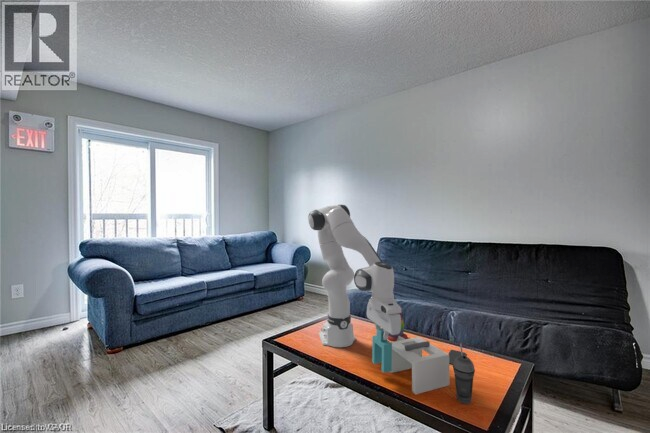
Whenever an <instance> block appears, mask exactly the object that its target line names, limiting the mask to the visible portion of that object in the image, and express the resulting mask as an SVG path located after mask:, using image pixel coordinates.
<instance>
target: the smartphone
mask: <svg viewBox="0 0 650 433" xmlns="http://www.w3.org/2000/svg"><path fill="white" fill-rule="evenodd" d="M462 353H463V356H466V357H467V353H466V352H465V351H462ZM448 354H449V365H451V366H453V362H454V360H455V359H456V358H457V357H458V356H461V350H460V351H459V350H455V349H450V350H449V352H448Z"/></svg>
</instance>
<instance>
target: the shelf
mask: <svg viewBox="0 0 650 433" xmlns="http://www.w3.org/2000/svg"><path fill="white" fill-rule="evenodd" d="M390 342H391V343H392V371H390V372H389V373H390V374H393V373H397V372H398V373H399V372H402V371H406V370H410V369H411V392H412V393H413V394H414V395H419V394H423V393H426V392H430V391H433V390H437V389H440V388H445V387H448V386H450V364H449V353H447V352H446V351H444V350H443V349H440V347H437V346H435V345H433V344H432V343H431V342H430V341H428V340H425V339H423V338H421V337H420V336H417V337H412V338H407V339H405V340H400V341H395V342H394V341H390ZM423 351H424V352H426V353H427V354H429V355H424V356H423Z"/></svg>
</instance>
